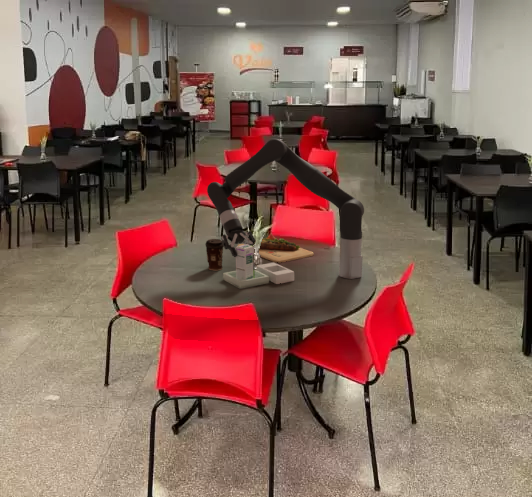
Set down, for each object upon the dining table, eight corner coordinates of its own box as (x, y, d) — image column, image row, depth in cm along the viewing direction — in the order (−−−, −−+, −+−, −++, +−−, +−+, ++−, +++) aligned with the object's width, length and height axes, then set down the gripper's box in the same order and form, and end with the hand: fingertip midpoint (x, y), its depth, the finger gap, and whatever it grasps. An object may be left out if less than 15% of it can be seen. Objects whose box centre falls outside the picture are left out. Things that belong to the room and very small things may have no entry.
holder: (294, 280, 276) (294, 271, 275) (276, 284, 271) (276, 275, 270) (273, 271, 289) (273, 262, 288) (256, 274, 284) (256, 265, 283)
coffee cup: (201, 269, 290) (201, 241, 287) (211, 264, 297) (211, 237, 294) (218, 272, 286) (217, 244, 283) (228, 267, 294) (227, 239, 290)
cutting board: (235, 248, 327) (235, 233, 325) (272, 241, 341) (272, 227, 339) (277, 264, 301) (277, 249, 298) (315, 256, 314) (316, 241, 312)
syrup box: (245, 282, 270) (245, 248, 267) (235, 279, 274) (235, 246, 270) (254, 279, 275) (254, 246, 271) (244, 276, 278) (244, 243, 274)
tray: (268, 283, 273) (268, 276, 272) (240, 288, 265) (239, 281, 264) (251, 274, 284) (251, 267, 283) (223, 279, 277) (223, 273, 276)
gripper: (219, 219, 272) (233, 252, 266) (248, 216, 279) (262, 247, 273) (213, 229, 277) (226, 261, 271) (242, 225, 285) (255, 256, 279)
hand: (244, 254), depth 272 cm, fingers open, 8 cm apart
